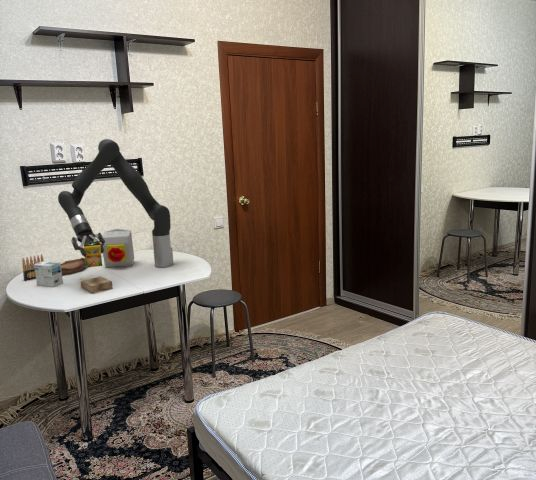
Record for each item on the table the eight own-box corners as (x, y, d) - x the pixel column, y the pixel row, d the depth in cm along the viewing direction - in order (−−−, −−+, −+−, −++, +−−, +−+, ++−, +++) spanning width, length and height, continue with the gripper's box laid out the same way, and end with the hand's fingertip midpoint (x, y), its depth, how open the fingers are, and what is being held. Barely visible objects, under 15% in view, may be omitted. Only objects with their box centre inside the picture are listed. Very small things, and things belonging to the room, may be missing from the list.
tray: (101, 283, 243) (100, 276, 242) (112, 288, 235) (111, 281, 234) (81, 288, 237) (80, 280, 236) (92, 293, 228) (91, 286, 227)
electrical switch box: (103, 273, 267) (98, 239, 259) (108, 262, 281) (103, 229, 273) (131, 272, 269) (127, 237, 261) (134, 261, 282) (130, 228, 275)
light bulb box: (63, 283, 246) (61, 261, 243) (53, 287, 239) (51, 265, 237) (46, 281, 249) (43, 260, 247) (36, 285, 243) (33, 264, 240)
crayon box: (85, 268, 230) (83, 243, 228) (85, 266, 233) (82, 242, 230) (102, 266, 233) (100, 241, 231) (101, 264, 236) (99, 240, 233)
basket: (71, 263, 283) (69, 255, 282) (96, 267, 274) (95, 258, 272) (36, 274, 263) (35, 265, 262) (63, 278, 254) (62, 269, 253)
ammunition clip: (45, 275, 259) (42, 253, 256) (46, 276, 257) (43, 254, 255) (23, 280, 252) (20, 257, 249) (24, 281, 251) (21, 258, 248)
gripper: (67, 223, 229) (80, 252, 224) (97, 219, 239) (110, 246, 233) (64, 233, 234) (77, 261, 229) (93, 228, 244) (106, 255, 238)
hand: (94, 254), depth 231 cm, fingers closed on crayon box, 8 cm apart
